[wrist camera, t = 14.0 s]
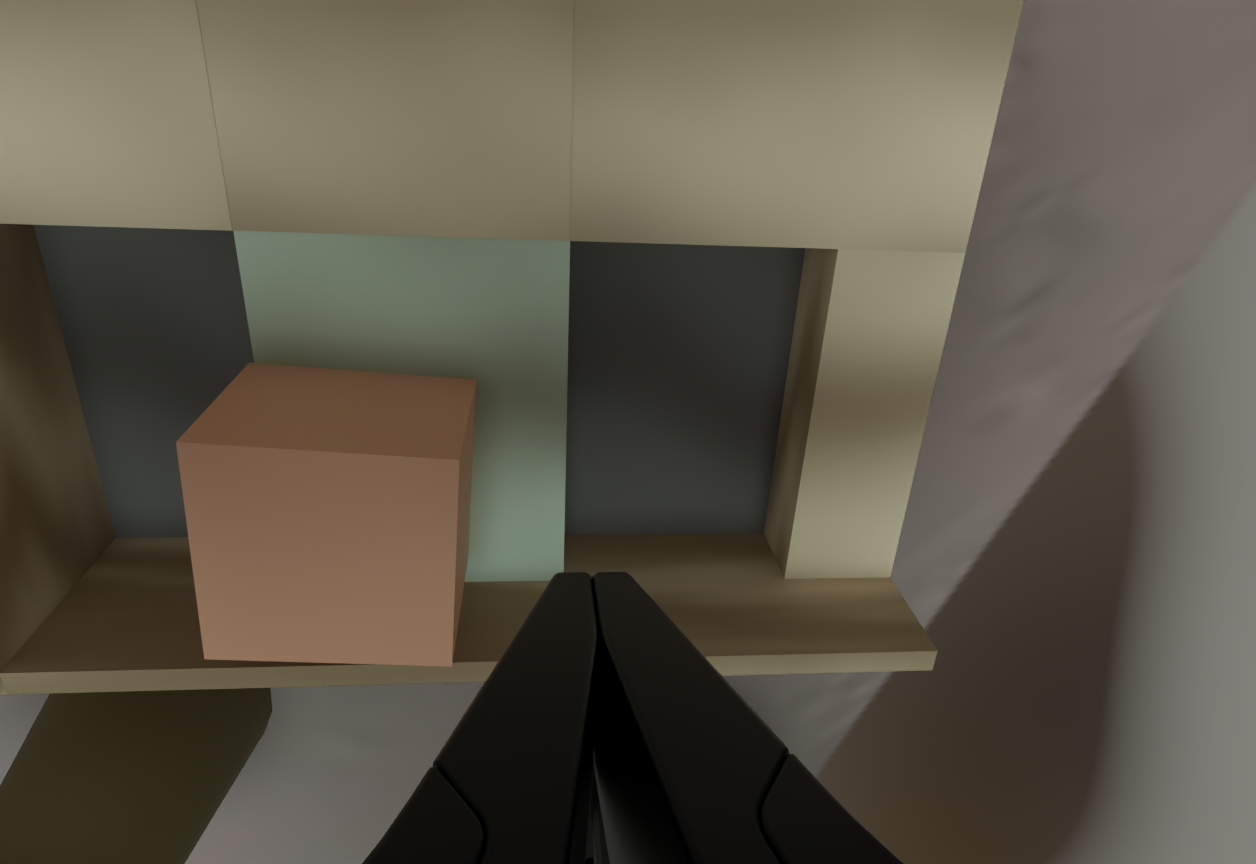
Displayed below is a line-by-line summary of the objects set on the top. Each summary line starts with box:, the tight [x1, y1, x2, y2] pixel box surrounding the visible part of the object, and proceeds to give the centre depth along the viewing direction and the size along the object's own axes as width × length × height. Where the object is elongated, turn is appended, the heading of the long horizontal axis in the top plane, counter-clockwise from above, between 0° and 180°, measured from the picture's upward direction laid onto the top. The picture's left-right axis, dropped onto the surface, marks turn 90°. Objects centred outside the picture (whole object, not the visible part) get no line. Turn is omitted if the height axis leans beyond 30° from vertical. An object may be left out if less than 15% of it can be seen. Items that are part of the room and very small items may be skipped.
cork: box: [0, 688, 272, 864], centre depth 20 cm, size 6×6×11 cm
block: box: [176, 362, 476, 667], centre depth 18 cm, size 5×5×4 cm
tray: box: [0, 0, 1024, 695], centre depth 17 cm, size 19×22×6 cm
